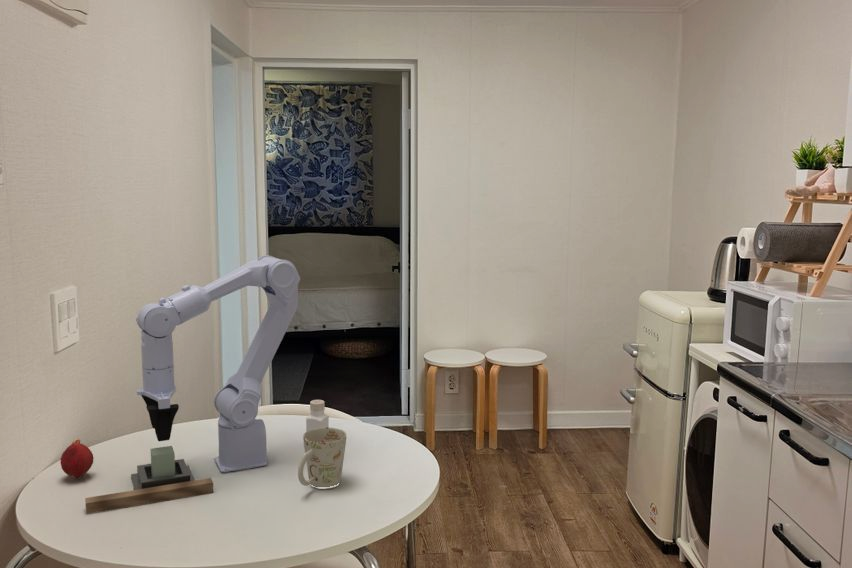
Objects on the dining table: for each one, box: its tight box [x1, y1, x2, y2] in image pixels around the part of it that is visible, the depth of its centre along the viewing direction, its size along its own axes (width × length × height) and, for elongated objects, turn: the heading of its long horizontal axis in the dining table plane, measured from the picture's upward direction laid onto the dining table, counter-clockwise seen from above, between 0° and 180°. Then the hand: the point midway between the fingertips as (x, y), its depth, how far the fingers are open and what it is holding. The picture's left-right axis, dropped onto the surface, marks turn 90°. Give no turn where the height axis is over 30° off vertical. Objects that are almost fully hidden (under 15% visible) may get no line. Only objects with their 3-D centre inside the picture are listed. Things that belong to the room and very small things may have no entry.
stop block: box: [150, 445, 176, 479], centre depth 145 cm, size 4×4×6 cm
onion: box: [59, 438, 95, 479], centre depth 146 cm, size 6×6×8 cm
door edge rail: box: [84, 477, 214, 515], centre depth 137 cm, size 22×2×2 cm, turn 116°
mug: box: [297, 427, 347, 487], centre depth 144 cm, size 8×13×10 cm, turn 155°
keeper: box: [130, 458, 196, 490], centre depth 145 cm, size 11×11×3 cm
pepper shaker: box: [305, 399, 330, 433], centre depth 167 cm, size 4×4×10 cm
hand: (160, 433), depth 145 cm, fingers open, 7 cm apart
